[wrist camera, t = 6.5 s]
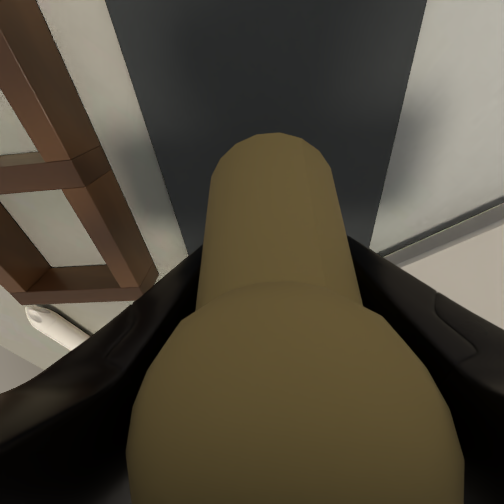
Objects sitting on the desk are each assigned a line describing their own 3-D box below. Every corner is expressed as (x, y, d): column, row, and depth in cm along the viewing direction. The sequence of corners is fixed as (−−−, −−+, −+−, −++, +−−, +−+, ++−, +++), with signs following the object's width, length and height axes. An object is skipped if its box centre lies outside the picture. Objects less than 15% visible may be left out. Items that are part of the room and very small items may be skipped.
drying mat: (359, 275, 21) (361, 280, 21) (200, 283, 22) (199, 287, 22) (448, -126, 9) (459, -136, 8) (91, -59, 10) (83, -65, 10)
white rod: (26, 301, 25) (7, 320, 23) (40, 295, 24) (21, 315, 22) (143, 380, 35) (136, 398, 33) (155, 377, 34) (149, 396, 32)
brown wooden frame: (159, 274, 22) (146, 300, 19) (46, 280, 23) (21, 305, 21) (-15, -113, 10) (-108, -172, 7) (-244, -64, 11) (-391, -101, 8)
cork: (273, 266, 14) (288, 574, 6) (185, 205, 12) (-12, 556, 3) (361, 194, 12) (669, 599, 3) (266, 96, 9) (308, 579, 1)
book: (659, 277, 20) (733, 317, 17) (376, 359, 29) (391, 396, 26) (729, 99, 12) (888, 114, 9) (315, 286, 21) (325, 325, 18)
